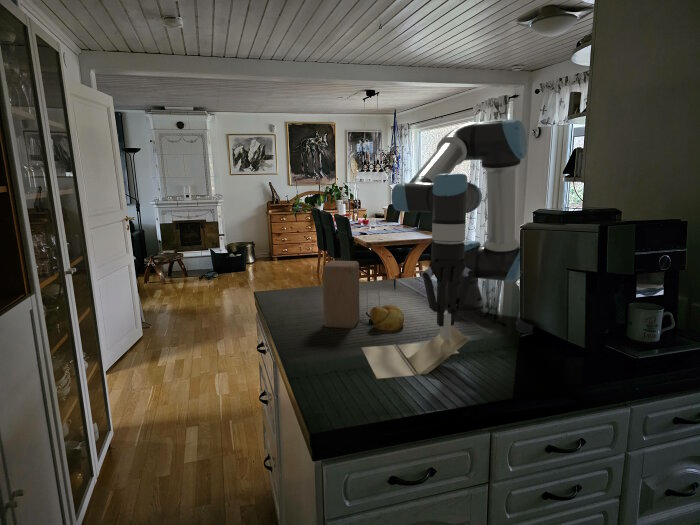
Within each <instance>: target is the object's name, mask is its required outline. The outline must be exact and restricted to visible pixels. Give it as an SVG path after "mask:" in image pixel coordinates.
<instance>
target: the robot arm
mask: <svg viewBox="0 0 700 525" xmlns="http://www.w3.org/2000/svg"><path fill="white" fill-rule="evenodd" d="M527 143H528V142H527V134H526V130H525V126H524V124H523V123H522V121H520V119H516V118H515V119H509V118H508V119H507V118H506V119H505V118H503V119H495V120H494V119H493V120H485V121H474V122H473V121H472V122H471V121H470V122H467V123H465V124H462V125H460V126H458V127H456V128H454V129H453V130H451V131H450V132H448V133H446V135H445V136H443V137H442V138H441V140H440V141H439V142H438V143H437V146H436V150H435V151H434V153H433V154H432V155H431V156H430V158H429V159H428V160H427V161H426V162H425V163H424V164H423V166H422V167H421V168H420V169H419V170H418V172H416V173H415V175H414V176H413V178H412V179H411V180H410V181H409V182H401V183H396V184H395V185H394V186H393V188H392V190H391V203H392V208H393V209H394V210H396V211H398V212H407V213H432V225H431V227H432V229H431V239H432V240H433V242H432V243H431V261H430V263H429V266H428V268H427V269H425V270H421V271H420V272H419V275H420V277H421V278H422V279H423V283H424V288H425V292H426V298H427V302H428V307H429V309H430V310H431V311H433V312H436V325H438V326H439V334H440V337H441V338H442V339H443V340H444V341H446V340H450V333H451V326H453V327H454V325H455V316H456V314H457V312H458V311H463V310H476V309H479V308H481V307H482V306H483V297H482V292H481V290H480V287H479V279H482V280H489V281H490V280H491V281H499V282H504V283H505V282H513V283H514V282H517V281H518V280H519V278H520V276H521V274H520V248H521V246H520V241H519V240H518V239H516V169H517V168H518V167H519V166H520V165H521V160H522V159H524V158H526V155H527V146H528V145H527ZM465 161H481V168H482V169H484V170H485V171H486V191H487V192H486V195H487V196H486V198H487V239H486V240H485V241H484V243H483V245H481V242H480V241H476V240H472V241H471V240H469V241H465V240H466V221H467V220H466V219H467V214H470V213H472V212H473V211H475V210H476V209H478V208H479V207H480V205H481V203H482V199H483V195H482V192H481V189H480V187H478V185H476V184H474V183H471V182H470V181H468V175H466V174H465V173H452V172H453V171H454V169H455V168H456V166H458V165H461V164H462V163H463V162H465ZM432 274H433V275H434V277H435V278H436V285H437V286H436V294H435V288H434V284H433V283H434V282H433V281H432V277H433V275H432Z"/></svg>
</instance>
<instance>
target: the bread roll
mask: <svg viewBox="0 0 700 525" xmlns="http://www.w3.org/2000/svg"><path fill="white" fill-rule="evenodd" d="M369 314H370V315H369V317H370V319H371V321H372V322H373V326H374V328H375V329H378V330H381V331H391V332H392V331H398V330H400V329H401V328H402V327H403V325H404V321H405V314H404V312H403V310H402V309H401V308H399V307H398V306H396V305H394V304H387V305H383V306H374V307H372V308H371V309H370V311H369Z"/></svg>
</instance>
